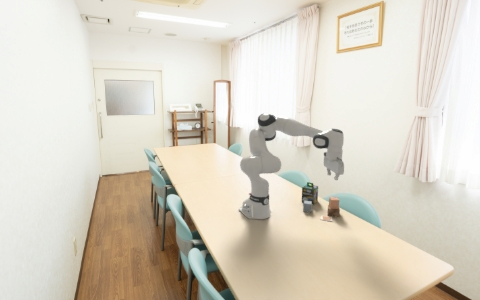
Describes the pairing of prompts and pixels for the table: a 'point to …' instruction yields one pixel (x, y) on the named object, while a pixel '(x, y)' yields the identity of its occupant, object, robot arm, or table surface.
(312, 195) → the dark product box
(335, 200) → the terracotta block
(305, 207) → the slate block
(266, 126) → the robot arm
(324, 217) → the swatch
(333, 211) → the walnut base
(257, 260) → the table surface
